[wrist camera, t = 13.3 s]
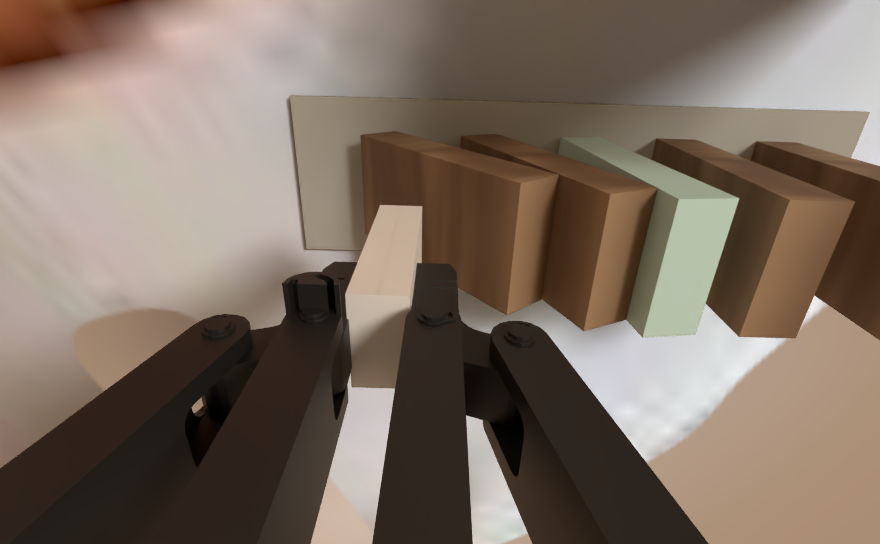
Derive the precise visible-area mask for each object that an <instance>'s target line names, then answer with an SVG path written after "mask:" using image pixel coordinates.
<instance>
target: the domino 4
mask: <svg viewBox="0 0 880 544" xmlns="http://www.w3.org/2000/svg"><path fill="white" fill-rule="evenodd" d="M750 161H752V162H755V163H757V164H760V165H763V166H765V167H768V168H770V169H773V170H775V171H778V172H780V173H783V174H785V175H788V176H791V177H793V178H796V179H798V180H801V181H803V182H806V183H808V184H811V185H814V186H816V187H819V188H821V189H824V190H826V191H829V192H831V193H834V194H836V195H839V196H842V197H844V198H847V199H849V200H852V201H854V202H855V203H854V206H853V208H852V210H851V212H850V215H849V217H848V219H847V222H846V224H845V226H844V228H843V231H842V233H841V235H840V238H839V240H838V242H837V244H836V247H835V249H834V251H833V254H832V256H831V258H830V260H829V263H828V265H827V267H826V270H825V272H824V274H823V276H822V279H821V281H820V283H819V286H818V288H817V290H816V292H815V296H816V297H818V298H819V299H821V300H822V301H823V302H825V303H826V304H828V305H829V306H831V307H833V308H834V309H835V310H837V311H838V312H839V313H841V314H842V315H844V316H845V317H847V318H848V319H850V320H851V321H853V322H854V323H855V324H857V325H858V326H860V327H861V328H863V329H864V330H866V331H867V332H869V333H870V334H871V335H873V336H875V337H876V338H877V339H879V340H880V166H877V165H873V164H870V163H866V162H863V161H859V160H856V159H852V158H849V157H845V156H842V155H839V154H835V153H832V152H828V151H825V150H821V149H818V148H814V147H811V146H807V145H804V144H800V143H797V142H765V141H756V144H755V148H754V151H753V154H752V157H751V160H750Z"/></svg>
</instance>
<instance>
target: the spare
mask: <svg viewBox="0 0 880 544" xmlns="http://www.w3.org/2000/svg"><path fill="white" fill-rule="evenodd" d="M558 155H561V156H564V157H567V158H570V159H573V160H576V161H579V162H582V163H585V164H588V165H591V166H594V167H597V168H600V169H603V170H606V171H609V172H612V173H615V174H618V175H621V176H624V177H627V178H630V179H633V180H636V181H639V182H642V183H645V184H648V185H651V186H654V187H657V188H658V189H657V193H656V197H655V202H654V206H653V210H652V214H651V218H650V222H649V227H648V231H647V235H646V239H645V243H644V247H643V252H642V256H641V260H640V264H639V268H638V272H637V277H636V281H635V285H634V289H633V293H632V297H631V302H630V306H629V310H628V314H627V318H626V320H627V321H628V322H629V323H630V324H631V325H632V326H633V327H634V329H635V330H636V331H637V332H638V333H639V334H640V335H641V336H642V337H662V336H680V335H695V334H696V331H697V328H698V325H699V322H700V319H701V316H702V313H703V310H704V307H705V303H706V300H707V297H708V294H709V291H710V288H711V285H712V282H713V279H714V276H715V272H716V269H717V266H718V263H719V260H720V257H721V254H722V251H723V248H724V245H725V241H726V238H727V235H728V232H729V229H730V226H731V223H732V220H733V217H734V214H735V210H736V207H737V204H738V201H739V198H737V197H735V196H733V195H731V194H728V193H726V192H724V191H721V190H719V189H717V188H715V187H712V186H710V185H708V184H705V183H703V182H701V181H698V180H696V179H694V178H692V177H689V176H687V175H685V174H682V173H680V172H678V171H676V170H673V169H671V168H669V167H666V166H664V165H662V164H660V163H657V162H655V161H653V160H650V159H648V158H646V157H644V156H641V155H639V154H637V153H634V152H632V151H630V150H627V149H625V148H623V147H621V146H618V145H616V144H614V143H611V142H609V141H607V140H605V139H602V138H600V137H561V138H560V145H559V153H558Z"/></svg>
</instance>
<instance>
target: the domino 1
mask: <svg viewBox="0 0 880 544" xmlns="http://www.w3.org/2000/svg"><path fill="white" fill-rule="evenodd" d="M360 136H361V157H362V178H363V199H364V221H365V234H366V235H369V232H370V230H371V227H372V225H373V222H374V220H375V217H376V215H377V212H378V210H379V207H380V205H398V206H422V263H436V264H450V265H451V266H452V267H453V268H454V269H455V270H456V271H457V287H458V288H460V289H462V290H464V291H465V292H467V293H469V294H471V295H472V296H474V297H476V298H478V299H479V300H481V301H483V302H485V303H486V304H488V305H490V306H492V307H493V308H495V309H497V310H498V311H500V312H502V313H504V314H505V315H508V314H511V313H513V312H515V311H517V310H519V309H521V308H524V307H526V306H528V305H530V304H532V303H534V302H537V301H539V300H541V299H542V292H543V285H544V278H545V271H546V264H547V257H548V250H549V243H550V236H551V229H552V222H553V215H554V208H555V201H556V194H557V187H558V180H559V174H555V173H551V172H547V171H544V170H540V169H536V168H532V167H529V166H525V165H521V164H517V163H514V162H510V161H506V160H502V159H499V158H495V157H491V156H487V155H484V154H480V153H476V152H472V151H469V150H465V149H461V148H457V147H454V146H450V145H446V144H442V143H439V142H435V141H431V140H427V139H424V138H420V137H416V136H412V135H409V134H405V133H401V132H397V131H391V132H382V133H373V134H364V135H360Z"/></svg>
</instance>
